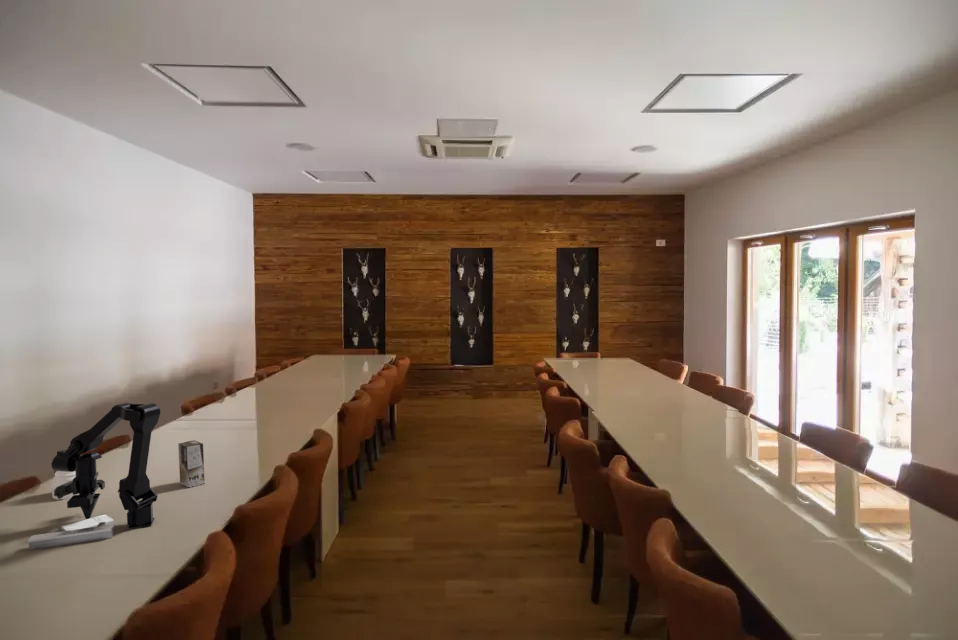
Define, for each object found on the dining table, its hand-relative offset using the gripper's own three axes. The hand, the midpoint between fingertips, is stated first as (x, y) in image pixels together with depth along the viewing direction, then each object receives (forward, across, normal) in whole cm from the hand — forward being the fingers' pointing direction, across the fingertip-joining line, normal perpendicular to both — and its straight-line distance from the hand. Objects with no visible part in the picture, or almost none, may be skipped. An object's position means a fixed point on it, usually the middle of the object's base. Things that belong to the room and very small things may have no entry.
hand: (87, 518), depth 187 cm
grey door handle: (+1, +15, 0) cm, 15 cm away
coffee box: (+1, -28, +28) cm, 39 cm away
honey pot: (+2, -33, -13) cm, 36 cm away
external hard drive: (+1, +5, +1) cm, 5 cm away
